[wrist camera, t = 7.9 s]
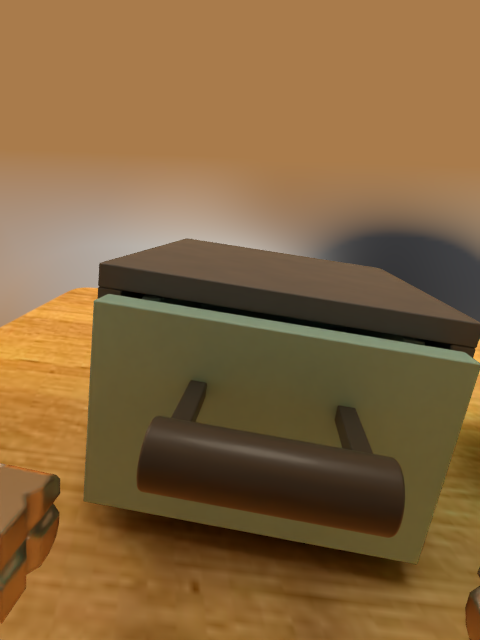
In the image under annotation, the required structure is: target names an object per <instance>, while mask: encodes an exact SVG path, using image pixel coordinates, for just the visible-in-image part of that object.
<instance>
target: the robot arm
mask: <svg viewBox="0 0 480 640" xmlns="http://www.w3.org/2000/svg"><path fill="white" fill-rule="evenodd" d="M59 494H60V478H59V477H58V476H57V475H54V474H49V473H45V472H40V471H35V470H31V469H26V468H21V467H17V466H12V465H5V464H1V463H0V623H1V624H2V623H3V621H4V620H5V618H6V617H7V615H8V614H9V612H10V611H11V610H12V608H13V607H14V605H15V604H16V602H17V601H18V599H19V598H20V596H21V595H22V593H23V592H24V590H25V589H26V575H27V574H28V573H30V572H32V571H34V570H35V569H37V568H39V567H40V566H41V565H42V563H43V562H44V560H45V559H46V557H47V556H48V554H49V552H50V550H51V547H52V545H53V543H54V540H55V538H56V534H57V530H58V525H59V512H58V510H57V509H56V507H55V505H54V504H53V502H54V501H55V500H56V498H57V497H58V496H59ZM477 574H478V576H479V578H480V568H479V570H478V573H477ZM465 612H466V627H467V631H468V635H469V639H470V640H480V586H479V587H477V588H476V589H474V590H473V591H471V592H470V594H469V597H468V600H467V604H466V607H465Z"/></svg>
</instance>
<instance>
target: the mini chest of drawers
mask: <svg viewBox="0 0 480 640" xmlns="http://www.w3.org/2000/svg"><path fill="white" fill-rule="evenodd" d="M98 285H99V288H98V298H101V297H103V296H105V295H107V294H113V295H119V296H125V297H131V298H137V299H142V297H143V296H144V295H146V294H147V295H154V296H160V297H166V298H172V299H178V300H184V301H190V302H197V303H203V304H209V305H215V306H221V307H227V308H233V309H239V310H246V311H252V312H258V313H264V314H270V315H276V316H282V317H288V318H295V319H301V320H307V321H313V322H319V323H325V324H331V325H337V326H344V327H350V328H356V329H362V330H368V331H374V332H380V333H386V334H393V335H399V336H405V337H411V338H417V339H422V340H423V341H424V342H425V345H424V346H430V347H436V348H442V349H449V350H455V351H461V352H465V353H467V354H468V355H469V356H471V357H472V358H473V356H474V353H475V348H476V347H477V344H478V341H479V338H480V322H478V321H476V320H474V319H472V318H471V317H469V316H467V315H465V314H463V313H461V312H459V311H458V310H456V309H454V308H452V307H450V306H448V305H447V304H445V303H443V302H441V301H439V300H437V299H436V298H434V297H432V296H430V295H428V294H426V293H424V292H423V291H421V290H419V289H417V288H415V287H413V286H412V285H410V284H408V283H406V282H404V281H402V280H400V279H399V278H397V277H395V276H393V275H391V274H389V273H388V272H386V271H384V270H382V269H379V268H373V267H367V266H360V265H354V264H347V263H341V262H335V261H328V260H322V259H315V258H309V257H303V256H296V255H290V254H283V253H277V252H271V251H264V250H258V249H251V248H245V247H238V246H232V245H226V244H219V243H213V242H206V241H200V240H193V239H183V240H180V241H176V242H173V243H169V244H166V245H162V246H159V247H155V248H152V249H148V250H144V251H141V252H137V253H134V254H130V255H126V256H123V257H119V258H116V259H112V260H109V261H105V262H102V263H100V264H99V282H98Z"/></svg>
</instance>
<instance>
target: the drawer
mask: <svg viewBox="0 0 480 640" xmlns="http://www.w3.org/2000/svg"><path fill="white" fill-rule="evenodd" d="M424 345H425V342H424V341H423V340H422V339H417V338H411V337H405V336H399V335H393V334H386V333H380V332H374V331H368V330H362V329H356V328H350V327H344V326H337V325H331V324H325V323H319V322H313V321H307V320H301V319H295V318H288V317H282V316H276V315H270V314H264V313H258V312H252V311H246V310H239V309H233V308H227V307H221V306H215V305H209V304H203V303H197V302H190V301H184V300H178V299H172V298H166V297H160V296H154V295H147V294H146V295H144V296H143V297H142V299H137V298H131V297H125V296H119V295H113V294H107V295H105V296H103V297H101V298H98V299H96V300H95V301H94V310H93V329H92V348H91V367H90V386H89V405H88V424H87V443H86V462H85V481H84V501H85V502H90V503H96V504H101V505H106V506H111V507H117V508H122V509H127V510H133V511H138V512H143V513H148V514H154V515H159V516H164V517H170V518H175V519H180V520H185V521H191V522H196V523H201V524H206V525H212V526H217V527H222V528H228V529H233V530H238V531H243V532H249V533H254V534H259V535H264V536H270V537H275V538H280V539H286V540H291V541H296V542H301V543H307V544H312V545H317V546H323V547H328V548H333V549H338V550H344V551H349V552H354V553H359V554H365V555H370V556H375V557H381V558H386V559H391V560H396V561H402V562H407V563H412V564H417V563H418V560H419V557H420V554H421V551H422V548H423V544H424V541H425V538H426V535H427V532H428V529H429V526H430V523H431V520H432V517H433V513H434V510H435V507H436V504H437V501H438V498H439V495H440V492H441V489H442V485H443V482H444V479H445V476H446V473H447V470H448V467H449V464H450V461H451V458H452V454H453V451H454V448H455V445H456V442H457V439H458V436H459V433H460V430H461V426H462V423H463V420H464V417H465V414H466V411H467V408H468V405H469V402H470V398H471V395H472V392H473V389H474V386H475V383H476V380H477V377H478V374H479V371H480V363H479V362H477V361H476V360H475V359H473V358H472V357H471V356H469V355H468V354H467V353H465V352H461V351H455V350H449V349H442V348H436V347H430V346H424Z"/></svg>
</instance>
